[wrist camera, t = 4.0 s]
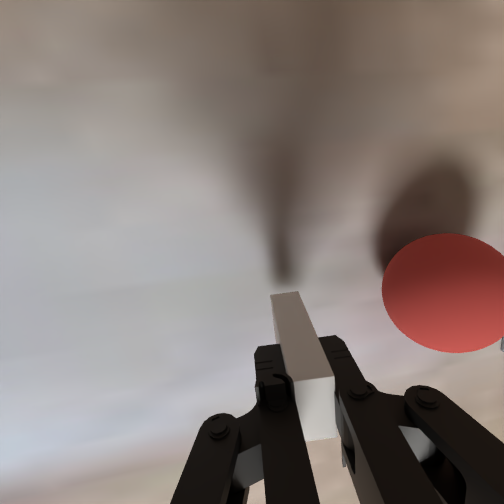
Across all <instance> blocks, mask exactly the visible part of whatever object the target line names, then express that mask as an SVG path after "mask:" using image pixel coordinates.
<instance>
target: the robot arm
mask: <svg viewBox="0 0 504 504" xmlns="http://www.w3.org/2000/svg"><path fill="white" fill-rule="evenodd" d="M270 297H271V305H272V314H273V322H274V330H275V339H276V344H273V345H266V346H258V348H257V350H256V352H255V354H254V359H255V370H256V384H255V392H256V398H257V403H256V405H255V406H254V408H253V409H252V410H251V411H250V412H248V413H247V414H245V415H243V416H241V417H239V418H235V417H234V416H232V415H230V414H226V413H221V414H216V415H213V416H211V417H209V418H208V419H207V420H206V421H204V423H203V424H202V426H201V427H200V429H199V432H198V434H197V437H196V440H195V442H194V445H193V447H192V450H191V452H190V455H189V457H188V460H187V462H186V465H185V467H184V470H183V472H182V475H181V477H180V480H179V482H178V485H177V487H176V490H175V492H174V495H173V498H172V500H171V503H170V504H247V499H248V494H249V486H251V485H252V484H254V483H256V482H258V481H260V480H262V479H264V485H265V496H266V504H320V502H319V498H318V493H317V489H316V485H315V481H314V477H313V472H312V468H311V464H310V460H309V455H308V451H307V447H306V443H305V442H306V441H313V440H320V439H327V438H335V437H338V436H337V428H338V431H339V434H340V437H341V448H342V464H343V467H346V464H347V467H348V470H349V472H350V475H351V478H352V481H353V484H354V487H355V490H356V493H357V496H358V499H359V501H360V504H504V443H503V442H501V441H500V440H499V439H498V438H496V437H495V436H494V435H493V434H492V433H490V432H489V431H488V430H487V429H486V428H484V427H483V426H482V425H481V424H479V423H478V422H477V421H476V420H475V419H473V418H472V417H471V416H470V415H469V414H467V413H466V412H465V411H464V410H462V409H461V408H460V407H459V406H458V405H456V404H455V403H454V402H453V401H452V400H450V399H449V398H448V397H447V396H445V395H444V394H443V393H441V392H440V391H438V390H437V389H434V388H431V387H429V386H422V385H417V386H411V387H410V388H408V389H407V390H406V392H405V394H404V396H401V395H392V394H386V393H383V392H380V391H378V390H377V389H376V388H375V386H374V385H373V384H371V383H369V382H368V381H366V380H365V379H364V377H363V375H362V373H361V371H360V370H359V368H358V366H357V364H356V362H355V360H354V359H353V357H352V355H351V353H350V351H348V348H347V346H346V344H345V342H344V341H343V340H341V339H340V338H339V337H337V336H336V335H333V336H326V337H319V338H318V337H317V334H316V332H315V330H314V327H313V325H312V323H311V320H310V318H309V316H308V313H307V311H306V309H305V306H304V304H303V302H302V299H301V297H300V295H299V292H298V291H296V292H289V293H282V294H274V295H270Z"/></svg>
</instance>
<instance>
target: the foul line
mask: <svg viewBox="0 0 504 504" xmlns="http://www.w3.org/2000/svg"><path fill="white" fill-rule="evenodd" d="M501 350H502V351H503V352H504V336H503V339H502V346H501Z"/></svg>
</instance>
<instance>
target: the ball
mask: <svg viewBox="0 0 504 504" xmlns="http://www.w3.org/2000/svg"><path fill="white" fill-rule="evenodd" d="M382 297H383V302H384V306H385V308H386V311H387V313H388V315H389V317H390V318H391V320H392V321H393V323H394V324H395V325H396V326H397V328H398V329H399V330H400V331H401V332H402V333H404V334H405V335H406V336H407V337H409V338H410V339H412V340H413V341H415V342H416V343H418V344H420V345H423V346H425V347H427V348H430V349H434V350H437V351H441V352H449V353H463V352H471V351H476V350H479V349H482V348H485V347H487V346H489V345H491V344H493V343H495V342H496V341H498V340H499V339H501V338H502V337H503V336H504V256H503V255H502V254H501V253H500V252H498V251H497V250H496V249H494V248H493V247H492V246H490V245H488V244H486V243H484V242H482V241H480V240H478V239H475V238H472V237H469V236H466V235H460V234H451V233H443V234H433V235H429V236H425V237H422V238H419V239H417V240H415V241H412V242H411V243H409V244H407V245H406V246H404V247H403V248H402V249H401V250H400V251H399V252H397V253H396V254H395V256H394V257H393V258H392V259H391V261H390V263H389V264H388V266H387V268H386V270H385V273H384V276H383V281H382Z"/></svg>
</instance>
